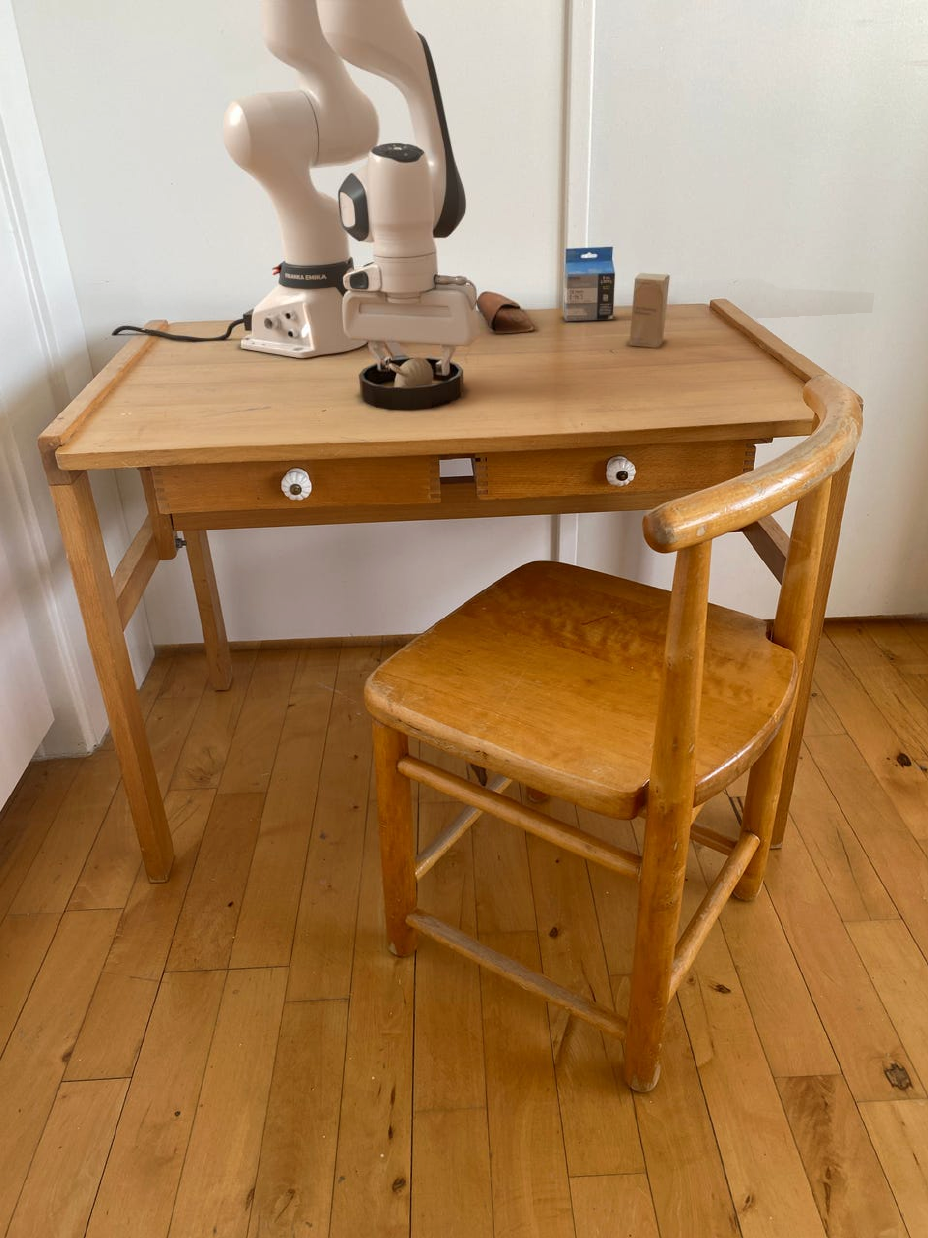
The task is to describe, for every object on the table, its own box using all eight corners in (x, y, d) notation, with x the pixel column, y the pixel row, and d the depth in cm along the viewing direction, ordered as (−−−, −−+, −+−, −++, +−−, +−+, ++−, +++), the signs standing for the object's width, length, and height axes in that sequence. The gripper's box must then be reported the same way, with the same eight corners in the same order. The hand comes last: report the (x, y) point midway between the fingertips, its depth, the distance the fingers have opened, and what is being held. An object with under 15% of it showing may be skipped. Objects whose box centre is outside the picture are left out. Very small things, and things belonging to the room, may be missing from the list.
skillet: (473, 403, 133) (473, 381, 132) (369, 414, 131) (367, 392, 129) (436, 355, 155) (435, 336, 153) (346, 364, 152) (344, 345, 150)
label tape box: (565, 322, 170) (567, 251, 164) (563, 316, 174) (564, 247, 167) (613, 320, 170) (616, 249, 164) (610, 315, 174) (613, 245, 167)
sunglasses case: (538, 328, 165) (519, 296, 162) (505, 351, 167) (485, 320, 163) (518, 305, 181) (501, 276, 177) (488, 326, 182) (470, 297, 178)
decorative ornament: (442, 390, 139) (441, 354, 136) (397, 403, 134) (395, 366, 132) (426, 384, 142) (424, 349, 139) (381, 396, 137) (379, 361, 134)
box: (628, 345, 156) (632, 277, 150) (634, 339, 159) (638, 272, 153) (659, 348, 154) (665, 279, 148) (664, 341, 157) (670, 273, 151)
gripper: (483, 271, 128) (486, 370, 135) (353, 267, 135) (362, 362, 142) (467, 280, 123) (471, 383, 130) (332, 276, 130) (343, 373, 137)
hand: (413, 372), depth 136 cm, fingers open, 8 cm apart
